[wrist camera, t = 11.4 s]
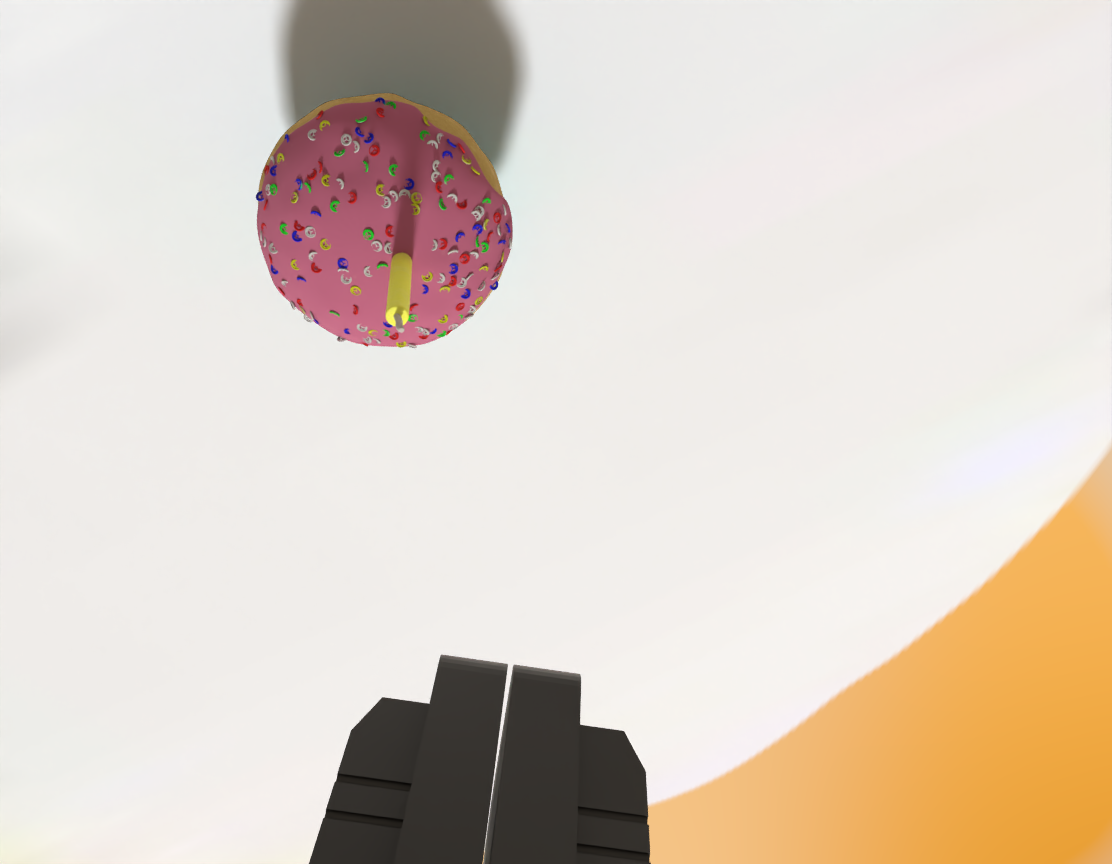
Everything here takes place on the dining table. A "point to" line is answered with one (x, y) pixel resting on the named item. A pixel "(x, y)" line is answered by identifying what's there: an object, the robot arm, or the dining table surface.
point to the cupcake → (382, 221)
